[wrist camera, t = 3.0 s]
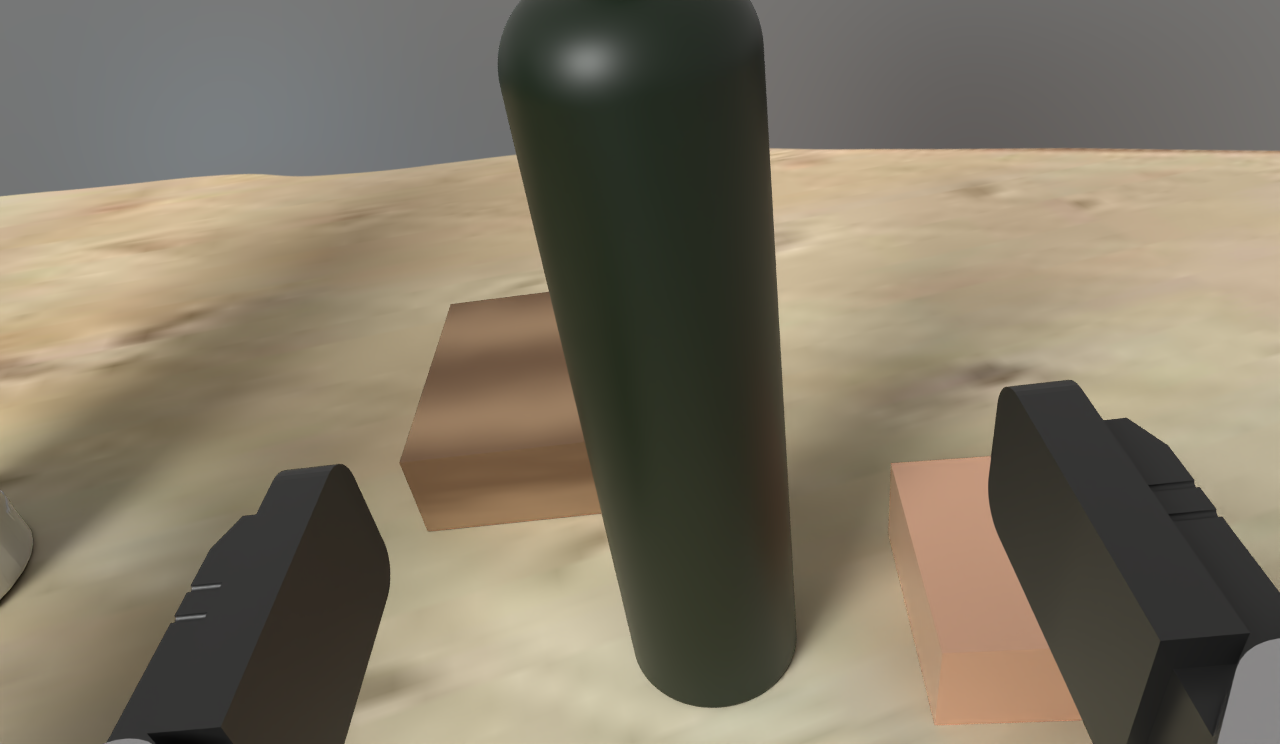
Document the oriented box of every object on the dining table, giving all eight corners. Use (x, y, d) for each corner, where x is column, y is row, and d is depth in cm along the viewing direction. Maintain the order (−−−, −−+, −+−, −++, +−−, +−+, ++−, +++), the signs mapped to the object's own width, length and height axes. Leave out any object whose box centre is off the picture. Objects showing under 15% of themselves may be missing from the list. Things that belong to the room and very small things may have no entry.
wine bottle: (824, 609, 31) (795, -622, 13) (744, 739, 28) (562, -698, 10) (690, 551, 34) (521, -513, 16) (602, 662, 31) (269, -541, 13)
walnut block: (707, 502, 36) (697, 429, 34) (427, 531, 37) (399, 462, 35) (691, 340, 46) (683, 275, 43) (470, 366, 47) (450, 304, 44)
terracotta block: (1206, 721, 26) (1241, 640, 24) (934, 730, 27) (942, 653, 25) (1105, 525, 33) (1125, 446, 30) (887, 538, 34) (891, 463, 31)
